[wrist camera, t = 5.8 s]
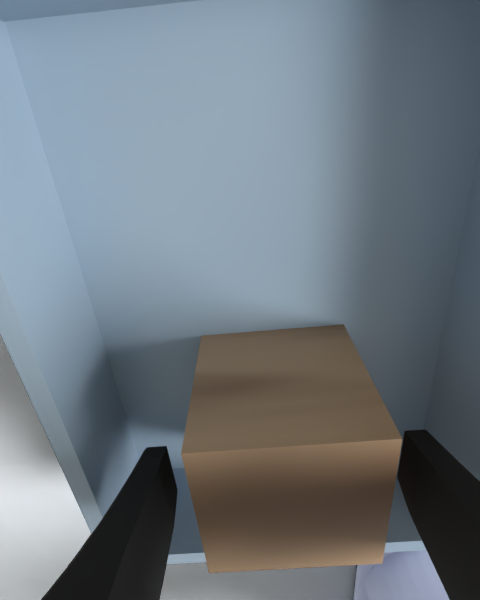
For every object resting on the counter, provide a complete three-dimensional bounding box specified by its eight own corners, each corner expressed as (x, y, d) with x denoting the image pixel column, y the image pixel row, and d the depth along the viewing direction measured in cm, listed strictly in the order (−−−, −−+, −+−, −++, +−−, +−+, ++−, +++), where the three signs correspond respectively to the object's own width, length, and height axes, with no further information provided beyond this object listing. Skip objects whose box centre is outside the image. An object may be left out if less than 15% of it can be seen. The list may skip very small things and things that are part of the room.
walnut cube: (338, 428, 15) (382, 563, 10) (217, 437, 15) (209, 573, 10) (343, 324, 12) (402, 439, 8) (201, 335, 13) (180, 453, 8)
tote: (425, 452, 16) (478, 547, 13) (135, 470, 17) (107, 567, 13) (533, -63, 8) (752, -197, 5) (-17, -2, 9) (-191, -83, 5)
